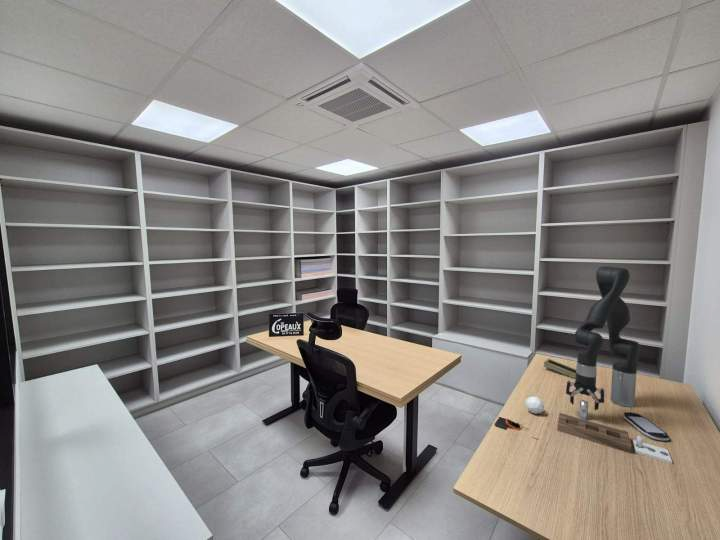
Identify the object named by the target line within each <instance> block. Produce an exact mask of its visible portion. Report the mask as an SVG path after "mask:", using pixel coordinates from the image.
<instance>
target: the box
mask: <svg viewBox="0 0 720 540" xmlns="http://www.w3.org/2000/svg"><path fill="white" fill-rule="evenodd" d="M543 367H545V368H547V369H550V370H553V371H555V372H557V373H560V374H562V375H564V376H567V377H570V378H571V379H574V380H576V368H574V367H571V366H569V365H565V364H564V363H562V362H558V361H555V360H554V359H551V358H547V359H546V360H545V361H544V362H543Z"/></svg>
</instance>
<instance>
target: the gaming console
mask: <svg viewBox="0 0 720 540" xmlns="http://www.w3.org/2000/svg"><path fill="white" fill-rule="evenodd" d="M622 417H623V419H625V421H627V422H628V423H629V424H630V425H632V426H633V427H634V428H636V430H638V431H639V432H640V433H641V434H642V435H644V436H645V437H647V438H648V439H650V440H654V441H657V442H669V441H670V439H671V437H670V436H669V435H668V433H667V432H666V431H664V430H663V429H662V428H660V427H659V426H658V425H656V424H655V423H654V422H653V421H651V420H650V419H648V417H645V416H643V415H641V414H639V413H636V412H630V411H626V412H625V411H624V412H622Z"/></svg>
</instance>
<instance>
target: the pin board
mask: <svg viewBox="0 0 720 540" xmlns="http://www.w3.org/2000/svg"><path fill="white" fill-rule="evenodd" d="M557 420H558V421H557V432H560V433H564V434H566V435H567V434H568V435H570V436H574V437H576V438H579V439H584V440H586V441H590V442H593V443H596V444H600V445H602V446H606V447H608V448H611V449H616V450H619V451H623V452H626V453H628V454H631V453H632V443H631V439H630V434H629V431H627V430H622V429H619V428H615V427H613V426H607V425H604V424H601V423H597V422H594V421H591V420H588V419H587V420H584V419H580V418H579V417H576V416H573V415H569V414H564V413H561V412H559V413H558V419H557Z"/></svg>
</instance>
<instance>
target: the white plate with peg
mask: <svg viewBox="0 0 720 540" xmlns="http://www.w3.org/2000/svg"><path fill="white" fill-rule="evenodd" d="M632 444H633V447H634V452H635V454H639V455H641V456H644V457H648V458H651V459H654V460H657V461H660V462H664V463H668V464H671V465H672V464H673V460H672V457H671V455H670V452H669V451H668V449H667V448H663V447H659V446H656V445H652V444H649V443H646V442H644V436H642V435H636V439H632Z"/></svg>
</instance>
